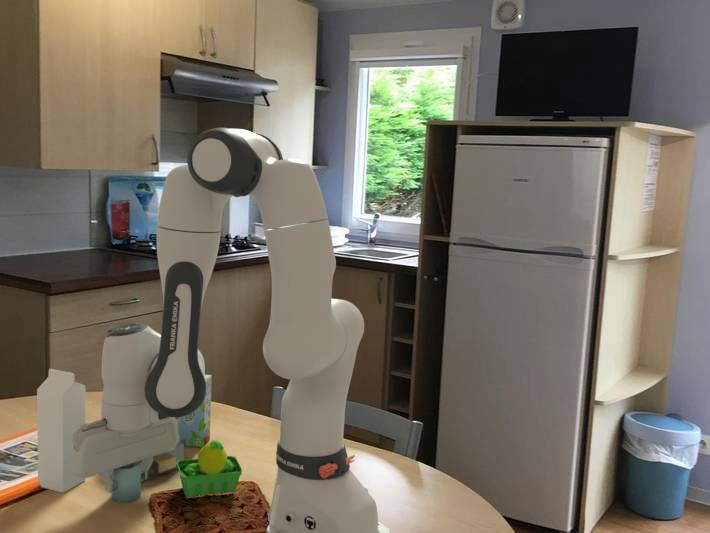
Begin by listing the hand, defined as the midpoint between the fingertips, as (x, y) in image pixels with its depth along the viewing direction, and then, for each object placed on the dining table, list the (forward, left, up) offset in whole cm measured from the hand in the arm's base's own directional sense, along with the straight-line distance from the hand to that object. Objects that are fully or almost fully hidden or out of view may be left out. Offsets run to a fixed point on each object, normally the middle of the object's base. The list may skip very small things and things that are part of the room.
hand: (126, 485), depth 136 cm
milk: (+12, +6, -2) cm, 14 cm away
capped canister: (0, 0, -2) cm, 2 cm away
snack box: (+18, -20, -2) cm, 27 cm away
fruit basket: (-9, -12, -2) cm, 15 cm away
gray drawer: (+8, -10, -2) cm, 13 cm away
